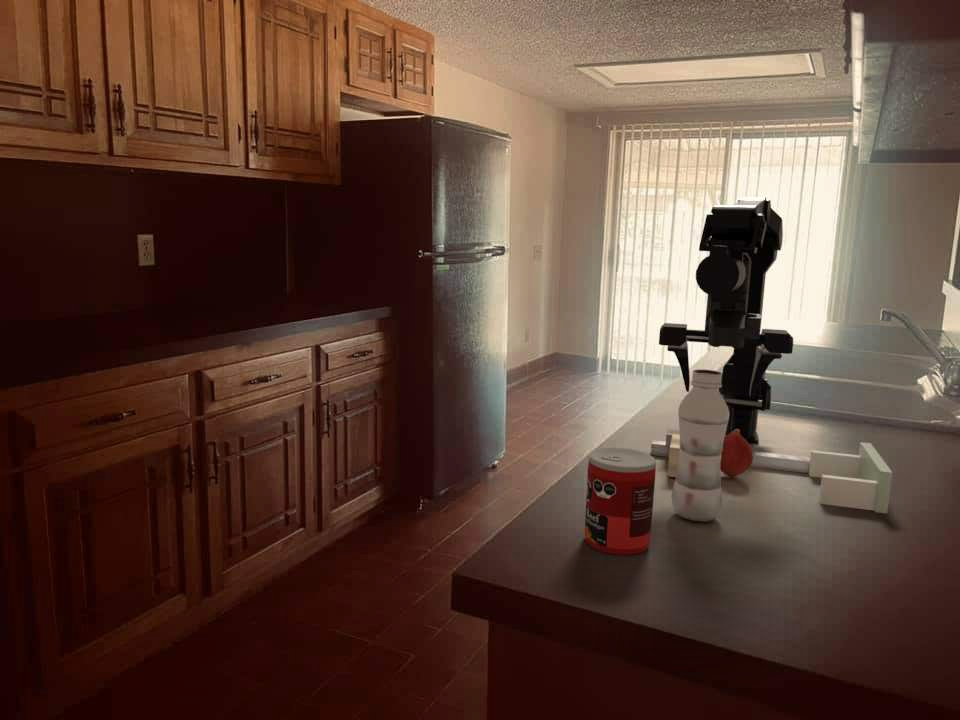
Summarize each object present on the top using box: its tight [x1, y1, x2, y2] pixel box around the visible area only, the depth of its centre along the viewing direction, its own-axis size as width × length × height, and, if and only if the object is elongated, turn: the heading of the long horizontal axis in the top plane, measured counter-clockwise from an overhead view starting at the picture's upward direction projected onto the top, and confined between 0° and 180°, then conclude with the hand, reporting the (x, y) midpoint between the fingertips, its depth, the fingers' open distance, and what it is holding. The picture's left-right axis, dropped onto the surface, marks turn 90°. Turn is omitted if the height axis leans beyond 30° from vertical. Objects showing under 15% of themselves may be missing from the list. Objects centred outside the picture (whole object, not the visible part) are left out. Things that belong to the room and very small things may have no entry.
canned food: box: [584, 447, 657, 556], centre depth 88 cm, size 8×8×11 cm
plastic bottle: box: [671, 368, 729, 522], centre depth 96 cm, size 6×7×20 cm
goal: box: [807, 441, 893, 515], centre depth 109 cm, size 15×8×6 cm, turn 162°
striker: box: [665, 425, 680, 478], centre depth 119 cm, size 14×5×5 cm, turn 162°
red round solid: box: [721, 429, 754, 479], centre depth 114 cm, size 6×6×8 cm
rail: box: [650, 439, 810, 474], centre depth 122 cm, size 2×31×2 cm, turn 72°
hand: (719, 393), depth 111 cm, fingers open, 9 cm apart
